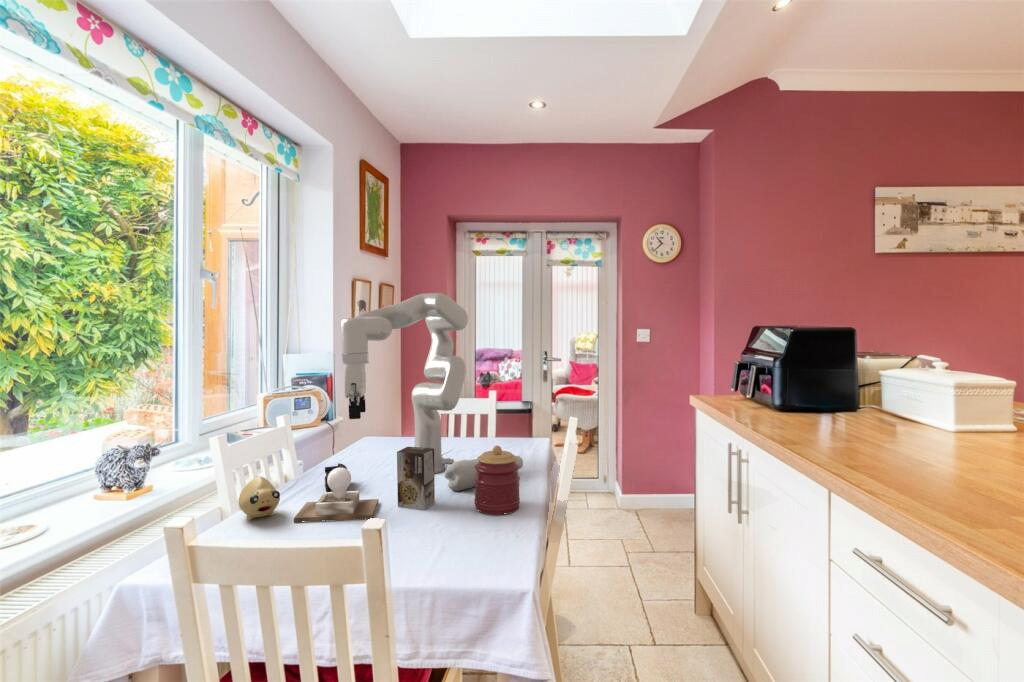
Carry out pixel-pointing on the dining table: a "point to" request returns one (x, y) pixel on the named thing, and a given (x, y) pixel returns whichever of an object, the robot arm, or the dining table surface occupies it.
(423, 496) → the coffee box
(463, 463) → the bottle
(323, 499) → the socket board
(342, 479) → the lightbulb
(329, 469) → the end cap
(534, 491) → the dining table surface
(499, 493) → the canister
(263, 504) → the golden cartoon creature figurine
